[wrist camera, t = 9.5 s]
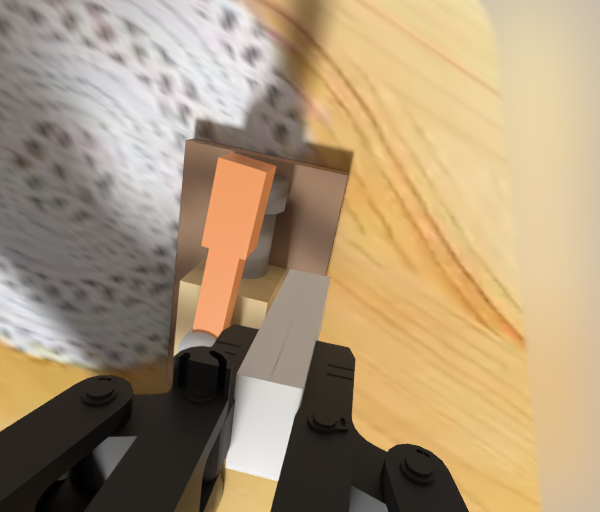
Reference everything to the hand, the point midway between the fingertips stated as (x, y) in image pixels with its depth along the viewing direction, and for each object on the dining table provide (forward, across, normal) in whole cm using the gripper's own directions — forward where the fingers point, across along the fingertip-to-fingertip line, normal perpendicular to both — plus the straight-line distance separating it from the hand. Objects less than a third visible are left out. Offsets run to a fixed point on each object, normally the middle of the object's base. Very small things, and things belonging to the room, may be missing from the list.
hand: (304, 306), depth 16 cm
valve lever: (+10, +6, +3) cm, 11 cm away
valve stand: (+18, +6, +8) cm, 21 cm away
